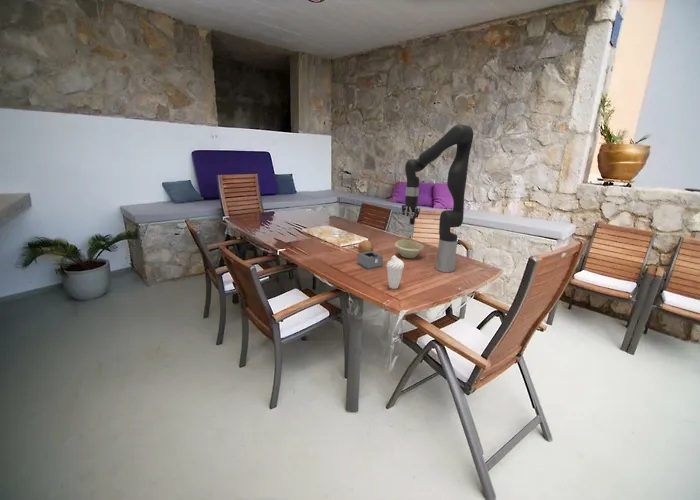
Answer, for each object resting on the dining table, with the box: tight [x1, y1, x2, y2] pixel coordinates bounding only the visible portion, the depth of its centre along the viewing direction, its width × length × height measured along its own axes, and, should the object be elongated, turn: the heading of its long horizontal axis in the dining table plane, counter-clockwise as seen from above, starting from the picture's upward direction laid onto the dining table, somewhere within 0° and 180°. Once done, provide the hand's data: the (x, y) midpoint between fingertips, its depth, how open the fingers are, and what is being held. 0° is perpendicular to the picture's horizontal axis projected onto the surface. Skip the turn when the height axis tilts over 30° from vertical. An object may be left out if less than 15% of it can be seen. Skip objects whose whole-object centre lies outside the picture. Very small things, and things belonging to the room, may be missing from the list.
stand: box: [355, 250, 385, 271], centre depth 178 cm, size 12×12×8 cm
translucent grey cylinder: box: [403, 214, 415, 237], centre depth 192 cm, size 5×5×12 cm
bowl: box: [394, 238, 425, 259], centre depth 196 cm, size 14×18×15 cm
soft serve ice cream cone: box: [386, 255, 405, 290], centre depth 150 cm, size 8×8×16 cm
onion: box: [357, 239, 375, 253], centre depth 196 cm, size 10×10×10 cm
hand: (409, 223), depth 191 cm, fingers closed on translucent grey cylinder, 4 cm apart
